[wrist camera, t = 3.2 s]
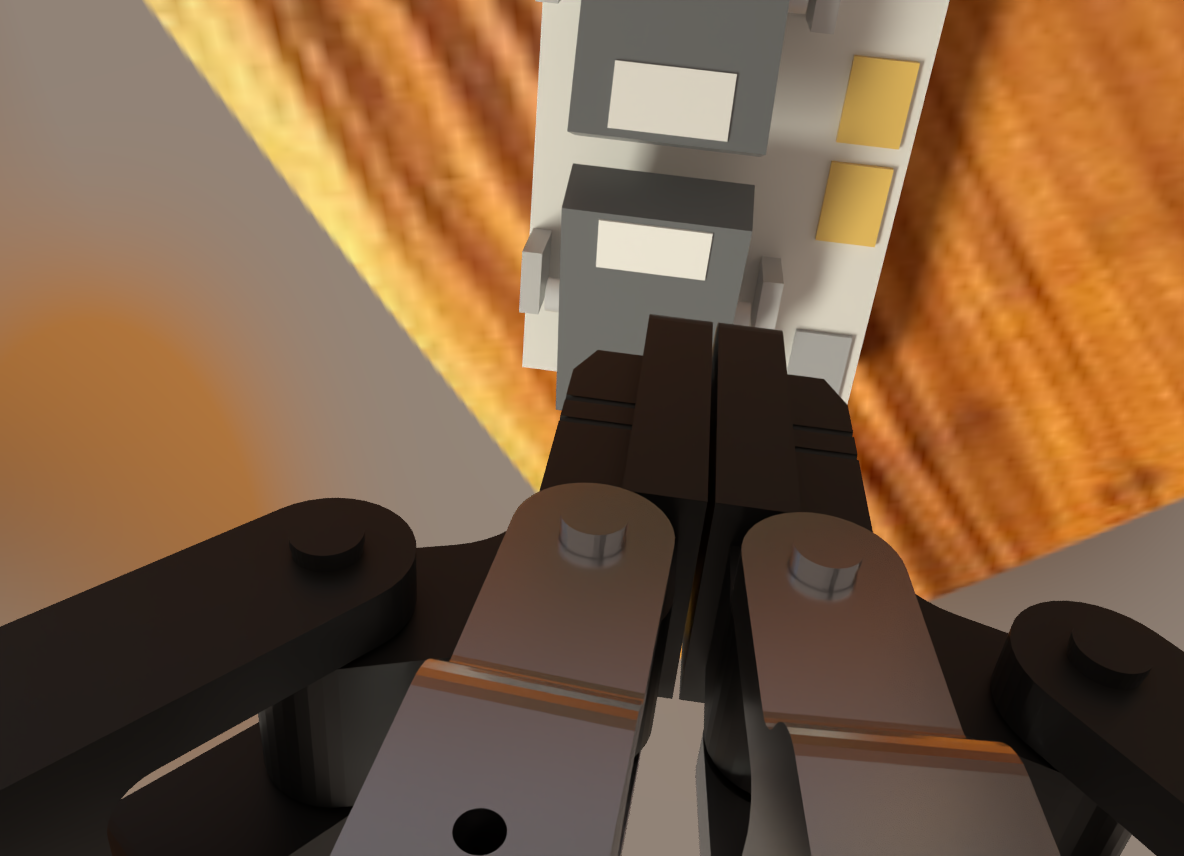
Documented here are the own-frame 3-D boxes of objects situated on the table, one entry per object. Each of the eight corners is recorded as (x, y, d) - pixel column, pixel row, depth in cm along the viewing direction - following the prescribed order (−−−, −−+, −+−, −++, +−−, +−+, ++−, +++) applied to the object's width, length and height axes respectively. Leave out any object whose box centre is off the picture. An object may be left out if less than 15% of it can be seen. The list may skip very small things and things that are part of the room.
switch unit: (970, -181, 28) (1014, -178, 24) (837, 367, 37) (851, 440, 32) (571, -221, 28) (542, -225, 24) (536, 328, 37) (511, 395, 33)
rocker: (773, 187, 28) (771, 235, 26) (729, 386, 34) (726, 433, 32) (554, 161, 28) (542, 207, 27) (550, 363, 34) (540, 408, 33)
